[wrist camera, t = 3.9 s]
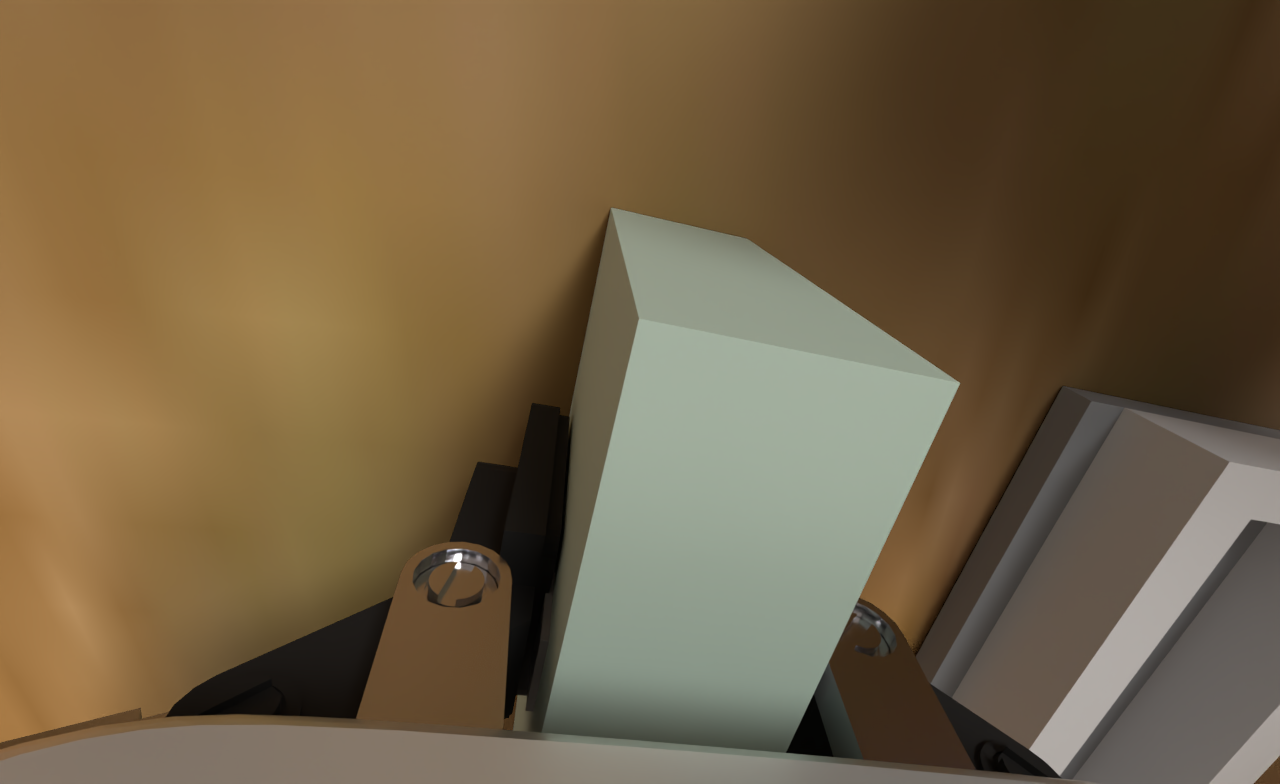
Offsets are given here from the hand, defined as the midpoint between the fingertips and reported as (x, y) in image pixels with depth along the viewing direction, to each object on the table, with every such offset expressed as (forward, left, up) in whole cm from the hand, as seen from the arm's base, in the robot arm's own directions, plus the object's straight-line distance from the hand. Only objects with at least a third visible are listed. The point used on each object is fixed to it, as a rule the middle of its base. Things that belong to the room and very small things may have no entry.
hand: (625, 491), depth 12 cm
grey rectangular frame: (-13, +4, -1) cm, 14 cm away
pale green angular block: (0, 0, -1) cm, 1 cm away
